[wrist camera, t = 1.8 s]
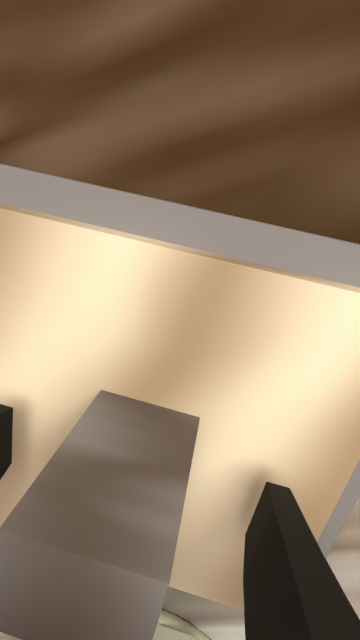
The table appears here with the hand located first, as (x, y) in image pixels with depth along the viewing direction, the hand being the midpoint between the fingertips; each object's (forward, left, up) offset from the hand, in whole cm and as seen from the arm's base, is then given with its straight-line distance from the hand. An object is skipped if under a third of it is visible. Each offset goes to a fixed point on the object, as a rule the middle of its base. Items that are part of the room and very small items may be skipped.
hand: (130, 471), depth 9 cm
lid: (0, 0, -2) cm, 2 cm away
